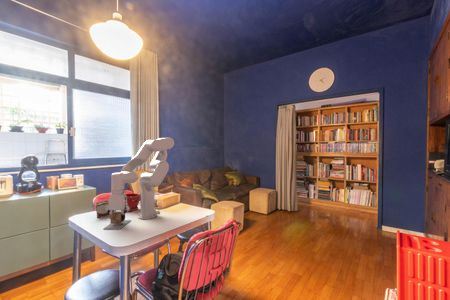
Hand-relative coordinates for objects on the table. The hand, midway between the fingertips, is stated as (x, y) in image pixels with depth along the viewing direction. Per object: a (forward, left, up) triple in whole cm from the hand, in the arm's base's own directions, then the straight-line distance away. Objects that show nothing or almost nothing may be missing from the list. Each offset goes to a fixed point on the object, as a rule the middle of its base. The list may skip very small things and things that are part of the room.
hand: (117, 220), depth 137 cm
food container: (+20, -19, -3) cm, 28 cm away
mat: (0, 0, -3) cm, 3 cm away
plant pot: (+6, -34, -3) cm, 35 cm away
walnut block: (0, 0, -1) cm, 1 cm away
